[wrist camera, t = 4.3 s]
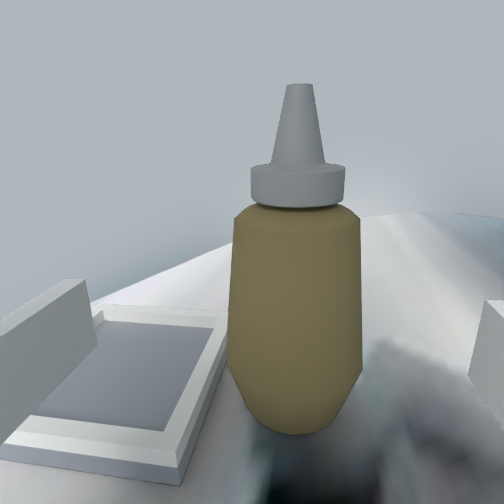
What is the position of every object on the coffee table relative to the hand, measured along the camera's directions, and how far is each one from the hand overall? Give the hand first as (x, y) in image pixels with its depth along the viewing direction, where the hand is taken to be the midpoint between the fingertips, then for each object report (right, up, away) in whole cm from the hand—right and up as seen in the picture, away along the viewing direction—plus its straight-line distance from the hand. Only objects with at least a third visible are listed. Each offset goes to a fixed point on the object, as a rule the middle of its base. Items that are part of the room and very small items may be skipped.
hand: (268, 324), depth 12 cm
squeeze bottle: (+2, -7, +10) cm, 13 cm away
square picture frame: (-9, -6, +12) cm, 16 cm away
